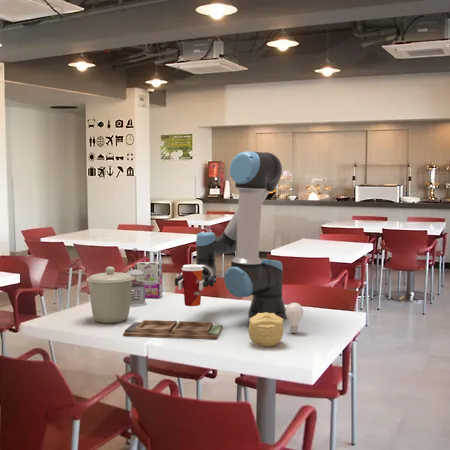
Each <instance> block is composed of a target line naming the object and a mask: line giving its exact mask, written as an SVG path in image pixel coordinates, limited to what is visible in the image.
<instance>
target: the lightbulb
mask: <svg viewBox="0 0 450 450" xmlns="http://www.w3.org/2000/svg"><path fill="white" fill-rule="evenodd" d="M285 308H286V309H285V314H286V316H287V319H288V322H289V327H290V333H291V334H293V335H295V334H297V333H298V332H299V324H300V321H301V319H302V318H303V315H304V308H303V306H302V305H301V304H300V303H298V302H291V303H288V304H287V306H285Z"/></svg>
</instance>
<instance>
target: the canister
mask: <svg viewBox="0 0 450 450" xmlns="http://www.w3.org/2000/svg"><path fill="white" fill-rule="evenodd" d="M115 271H116V268H115V267H114V266H111V265H110V266H107V267H106V268H105V272H100V273H95V274H91V275H89V277H87V278H86V282H87V283H88V284H87V285H88V291H89V298H90V306H91V312H92V317H93V320H95V321H96V322H99V323H103V324H114V323H119V322H123V321H125V320H127V319H128V317H129V314H130V308H131V307H130V300H131V290H132V281H135V276H131V275H129V274H126V273H127V272H126V273H125V272H117V271H116V272H115ZM132 291H133V290H132Z"/></svg>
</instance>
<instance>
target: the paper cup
mask: <svg viewBox="0 0 450 450" xmlns="http://www.w3.org/2000/svg"><path fill="white" fill-rule="evenodd" d="M181 270H182V274H183V286H184V287H183V300H184V302H183V303H184V305H185V306H186V307H199V306H201V299H202V290H199V282H200V281H202V270H203V268H202V265H197V264H195V263H194V264H192V263H191V264H184V265H183V264H182V267H181Z"/></svg>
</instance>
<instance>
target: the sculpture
mask: <svg viewBox="0 0 450 450" xmlns="http://www.w3.org/2000/svg"><path fill="white" fill-rule="evenodd" d="M248 320H249V325H248V336H249V339H250V340H251V342H252V343H253V344H254V345H255V346H259V347H267V348H269V347H275V346H277V345H279V343H280V342H281V341H282V339H283V335H284V329H285V328H284V319H283V318H281V317H279V316H277V315H275V314H274V313H267V312H265V313H257V315H255V316H254V317H252V318H249V319H248Z"/></svg>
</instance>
